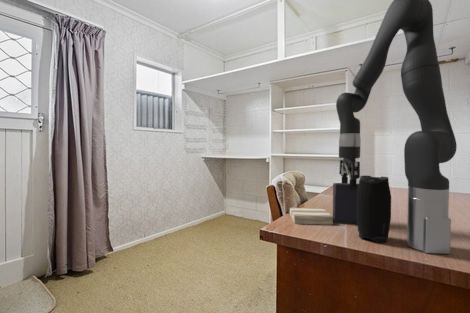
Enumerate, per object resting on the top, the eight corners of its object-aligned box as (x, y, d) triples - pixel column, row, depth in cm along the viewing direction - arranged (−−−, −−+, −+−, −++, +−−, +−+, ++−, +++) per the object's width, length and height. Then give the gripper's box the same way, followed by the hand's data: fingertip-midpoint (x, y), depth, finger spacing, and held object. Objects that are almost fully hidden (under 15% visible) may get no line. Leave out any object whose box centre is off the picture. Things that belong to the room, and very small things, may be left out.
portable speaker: (353, 233, 83) (354, 175, 82) (384, 235, 81) (385, 175, 80) (360, 242, 74) (361, 177, 74) (395, 244, 72) (396, 178, 72)
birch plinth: (332, 224, 92) (332, 216, 92) (294, 223, 93) (294, 215, 93) (322, 215, 106) (322, 208, 106) (289, 214, 107) (289, 207, 107)
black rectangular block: (360, 221, 97) (361, 183, 97) (365, 224, 93) (366, 184, 93) (331, 220, 98) (332, 182, 98) (335, 223, 94) (335, 184, 94)
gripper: (368, 145, 88) (366, 191, 88) (352, 146, 102) (351, 185, 102) (346, 145, 88) (345, 190, 89) (333, 145, 102) (332, 184, 103)
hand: (348, 187), depth 95 cm, fingers open, 8 cm apart
